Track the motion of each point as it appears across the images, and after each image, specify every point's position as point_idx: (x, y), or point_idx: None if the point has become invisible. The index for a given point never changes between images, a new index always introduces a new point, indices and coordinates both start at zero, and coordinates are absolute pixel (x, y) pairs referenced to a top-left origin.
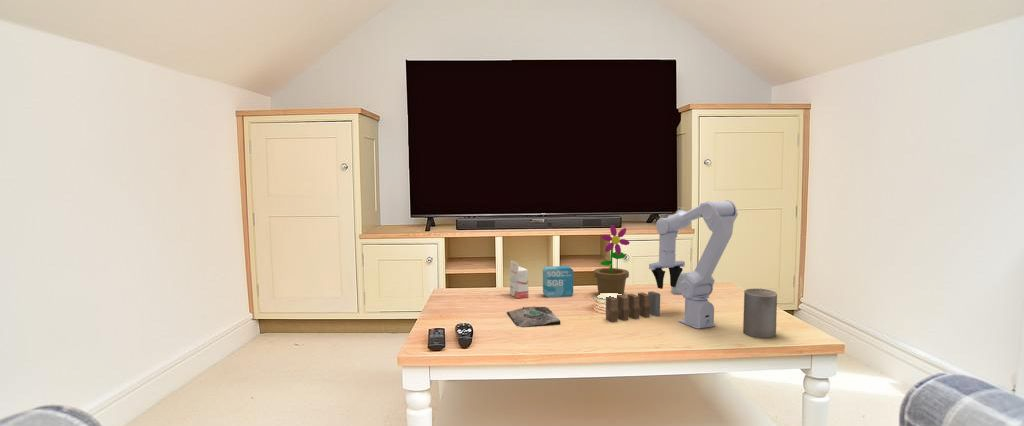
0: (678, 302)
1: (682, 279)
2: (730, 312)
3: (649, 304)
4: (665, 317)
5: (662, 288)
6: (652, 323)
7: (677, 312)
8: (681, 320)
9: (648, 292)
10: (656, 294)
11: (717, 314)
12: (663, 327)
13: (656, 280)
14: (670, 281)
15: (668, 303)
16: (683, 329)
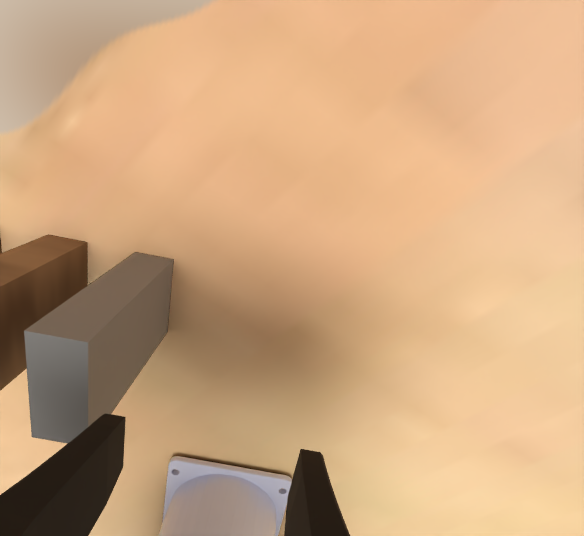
0: (570, 187)
1: None
2: (550, 501)
3: (26, 365)
4: (169, 372)
5: (119, 469)
6: (26, 398)
7: (316, 349)
8: (178, 470)
9: (29, 332)
10: (43, 436)
11: (460, 485)
12: (39, 462)
13: (20, 491)
14: (302, 499)
15: (480, 158)
16: (107, 519)
